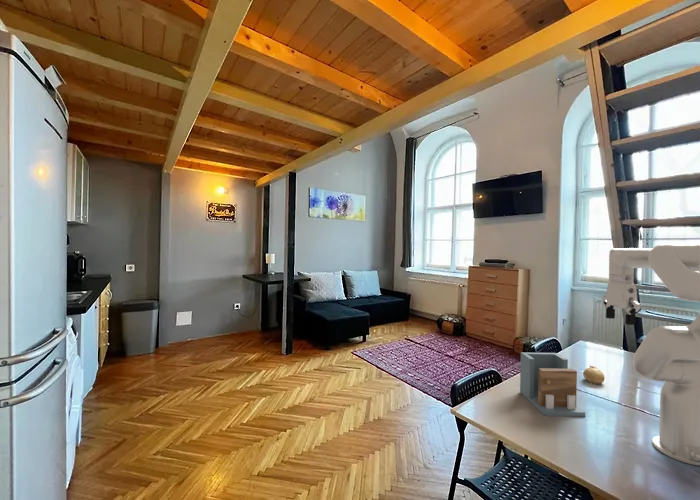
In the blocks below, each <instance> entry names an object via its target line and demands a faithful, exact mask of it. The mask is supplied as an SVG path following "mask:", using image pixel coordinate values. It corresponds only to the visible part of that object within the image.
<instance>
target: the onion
mask: <svg viewBox="0 0 700 500" xmlns="http://www.w3.org/2000/svg"><path fill="white" fill-rule="evenodd" d="M582 375H583V379H585V380H586V381H587V382H589V383H590V384H593V385H594V384H595V385H597V384H598V385H601V384H602V383H604V382H605V378H606V377H605V375H604V373H603V372H602V371H601V369H598V368H597V367H596V366H594V365H590V364H589V367H587V368H585V369H584V371H583V373H582Z"/></svg>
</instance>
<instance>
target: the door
mask: <svg viewBox="0 0 700 500" xmlns="http://www.w3.org/2000/svg"><path fill="white" fill-rule="evenodd" d="M577 377H578V371H577V370H576V369H574V368H568V369H557V368H539V383H538V403H539V404H540V405H541V406H546V394H552V395H554V407H567V395H574V396H576V397H575V407H576V406H577V391H578V390H577V386H578V385H577V382H578V380H577V379H578V378H577Z"/></svg>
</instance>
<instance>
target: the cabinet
mask: <svg viewBox="0 0 700 500" xmlns="http://www.w3.org/2000/svg"><path fill="white" fill-rule="evenodd" d="M568 360H569V359H568V358H566V357H565V356H562V355H560V354H559V353H557V352H522V351H521V352H520V373H519V374H520V376H519V377H520V378H519V385H520V386H519V392H521V393H522V394H523V395H524V397H525V399H526V400H528V402H530V404H532V406H534V407H535V408H536V409H537V410H538V411H539V412H540V413H541V414H542V415H543V416H547V417H548V416H551V417H553V416H554V417H555V416H556V417H586V411H584V410H583V409H581V408H580V407H579V406H578V405H576V407H575V397H576V398H577V395H576V396H574V395H567V407H554V395H552V394H546V406H541V405H540V404H539V403H538V383H539V368H557V369H569V367H568V366H569V365H568V364H569V363H568V362H569V361H568ZM521 393H520V394H521ZM522 394H521V395H522ZM523 395H522V396H523Z"/></svg>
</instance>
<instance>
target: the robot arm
mask: <svg viewBox="0 0 700 500" xmlns="http://www.w3.org/2000/svg"><path fill="white" fill-rule="evenodd" d="M608 262H609V263H608V264H609V265H608V283H607V287H606V294H605V295H604V296H602V301H603V304H604V308H605V318H606V319H615V318H616V309H615V307H617V308H620V309H624V311H625V312H626V314H625V325H627V326H628V325H630V326H631V325H632V326H633V325H634V326H635V325H636V316H637V315H638V313H639V312H640V309H641V308H642V305H641V304H640V303H639V302H638V293H637V287H636V283H634V281H635V279H634V274H635V269H652V271H653V272H654V273H655V274H656V276H657V277H658V278H659V279H660V280H661V281H662V283H663V285H664V286H665V287H666V288H667V289H668V291H669V292H670V293H671V294H672V295H673V296H675V297H676V298H678V299H679V300H682V301H687V302H698V303H699V302H700V243H661V244H658V245H655V246H653V248H650V247H649V248H648V247H646V248H645V247H643V248H642V247H639V248H638V247H637V248H636V247H635V248H634V247H629V248H628V247H627V248H626V247H625V248H623V247H622V248H620V247H619V248H617V247H616V248H611V249H610V250H609V255H608ZM632 360H633V361H632V364H633V368H634V370H635V372H636V373H637V374H638V375H639V376H641V377H642V378H643V379H646V380H648V381H649V380H650V381H656V382H664V383H663V385H662V386H661V389H660V395H659V397H660V398H659V399H660V400H659V405H660V406H659V427H658V428H659V429H658V430H659V432H658V433H659V435H657V436H654V437H652V440H651V441H652V442H651V443H652V445H653V446H654V448H656V450H658V451H659V452H661V453H662V454H664V455H666V456H667V457H670V458H672V459H675V460H676V461H679V462H682V463H685V464H688V465H693V466H698V467H700V313H698V314H697V316H696V317H695V319H694V320H693V321H692V322H691V323H690V324H688V325H683V326H680V325H679V326H676V325H659V326H656V327H654V328H652V329H651V330H649V331H648V333H647V334H646V336H645V337H644V339H642V341H641V342H640V345H639V346H638V348H637V349H636V351H635V353H634V354H633V359H632Z"/></svg>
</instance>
